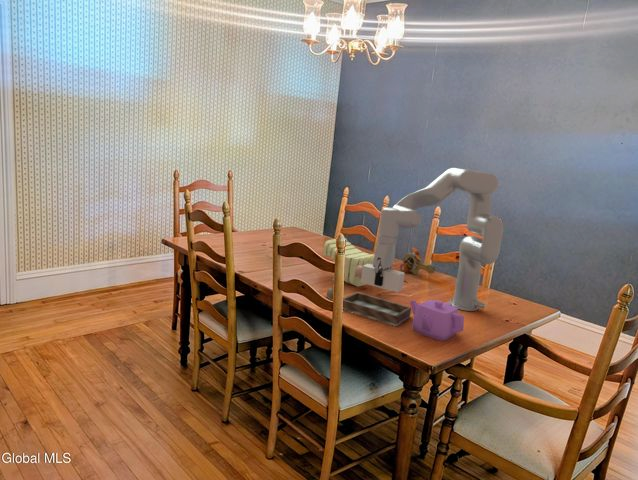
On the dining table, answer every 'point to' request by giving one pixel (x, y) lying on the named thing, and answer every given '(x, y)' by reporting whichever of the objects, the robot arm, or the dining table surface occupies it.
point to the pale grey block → (390, 277)
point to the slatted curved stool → (349, 260)
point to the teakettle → (436, 319)
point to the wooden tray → (376, 308)
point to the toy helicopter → (415, 263)
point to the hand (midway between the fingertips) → (381, 283)
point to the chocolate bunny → (330, 291)
